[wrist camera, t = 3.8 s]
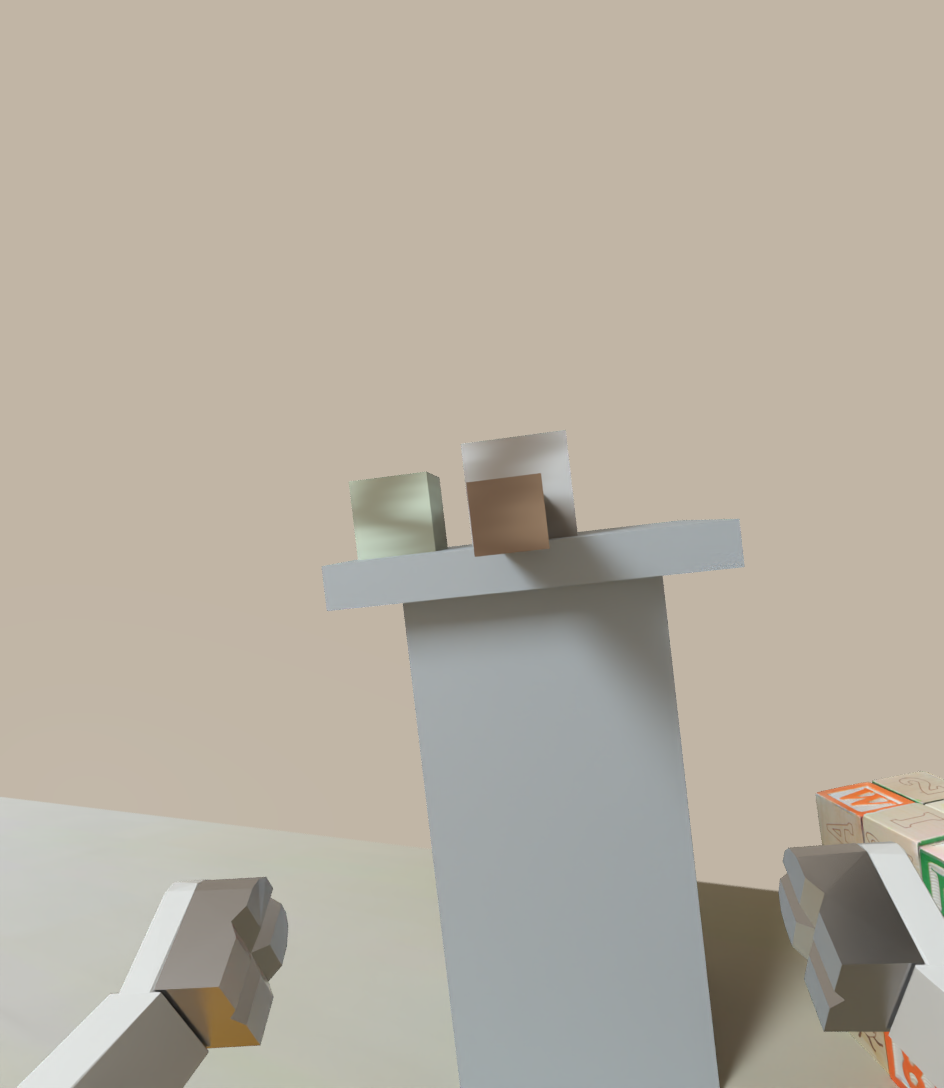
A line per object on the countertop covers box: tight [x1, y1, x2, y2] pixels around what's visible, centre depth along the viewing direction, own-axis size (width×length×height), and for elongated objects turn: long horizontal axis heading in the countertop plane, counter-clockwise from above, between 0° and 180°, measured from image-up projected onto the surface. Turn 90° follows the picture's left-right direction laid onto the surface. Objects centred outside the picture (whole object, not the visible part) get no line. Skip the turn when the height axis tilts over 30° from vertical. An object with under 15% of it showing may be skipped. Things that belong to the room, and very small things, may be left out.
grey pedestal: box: [322, 519, 744, 1088], centre depth 34 cm, size 18×12×26 cm, turn 84°
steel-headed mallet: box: [461, 430, 578, 557], centre depth 29 cm, size 5×20×5 cm, turn 174°
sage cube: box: [349, 472, 448, 560], centre depth 34 cm, size 4×4×4 cm
